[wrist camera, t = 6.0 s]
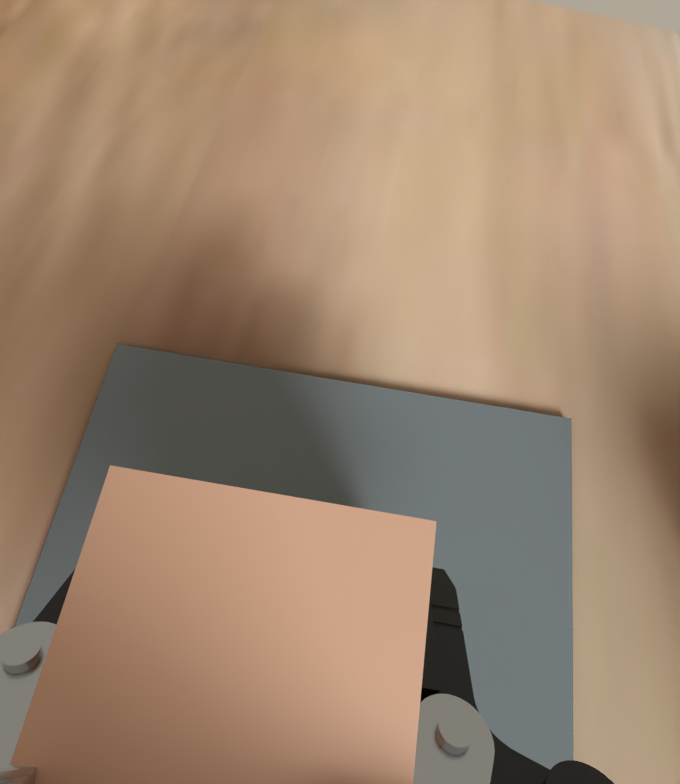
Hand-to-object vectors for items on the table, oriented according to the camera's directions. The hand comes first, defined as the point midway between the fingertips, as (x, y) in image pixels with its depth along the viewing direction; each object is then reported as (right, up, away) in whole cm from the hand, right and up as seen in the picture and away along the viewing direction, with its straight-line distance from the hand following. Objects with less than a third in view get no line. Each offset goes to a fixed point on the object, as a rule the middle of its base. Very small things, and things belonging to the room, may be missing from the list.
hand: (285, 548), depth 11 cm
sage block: (0, -3, +3) cm, 5 cm away
